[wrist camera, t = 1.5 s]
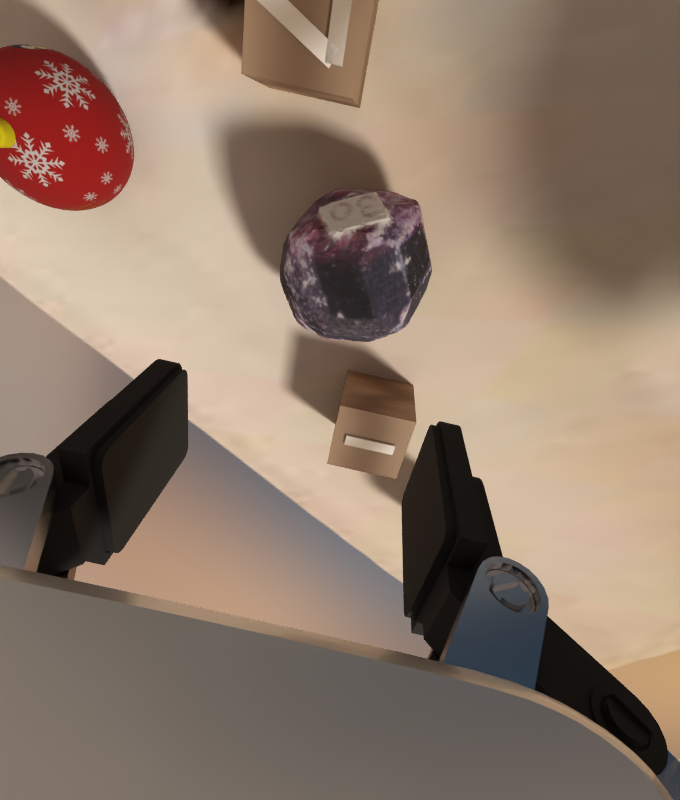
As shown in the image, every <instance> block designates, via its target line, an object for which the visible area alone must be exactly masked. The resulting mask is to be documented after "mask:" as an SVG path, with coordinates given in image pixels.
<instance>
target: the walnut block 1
mask: <svg viewBox="0 0 680 800" xmlns="http://www.w3.org/2000/svg"><path fill="white" fill-rule="evenodd" d="M415 424H416V413H415V401H414V388H413V385H410V384H406V383H401V382H397V381H392V380H388V379H383V378H379V377H374V376H370V375H365V374H361V373H356V372H352V371H348V372H347V376H346V381H345V385H344V390H343V394H342V398H341V403H340V407H339V412H338V416H337V421H336V425H335V430H334V434H333V439H332V444H331V448H330V453H329V458H328V462H327V464H331V465H335V466H340V467H344V468H349V469H353V470H358V471H362V472H367V473H371V474H376V475H380V476H385V477H389V478H394V479H396V478H397V475H398V473H399V470H400V467H401V464H402V461H403V458H404V456H405V453H406V450H407V447H408V444H409V441H410V439H411V436H412V433H413V430H414V427H415Z"/></svg>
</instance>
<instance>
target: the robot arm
mask: <svg viewBox="0 0 680 800" xmlns="http://www.w3.org/2000/svg"><path fill="white" fill-rule="evenodd" d="M187 450H188V381H187V371H186V370H182V367H181V365H180V364H179V363H175V362H170V361H166V360H161V359H157V360H156V361H155V362H153V363H152V364H151V365H150V366H149V367H148V368H147V369H146V370H144V371H143V372H142V373H141V374H140V375H139V376H138V377H136V378H135V379H134V380H133V381H132V382H131V383H130V384H129V385H127V386H126V387H125V388H124V389H123V390H122V391H121V392H120V393H118V394H117V395H116V396H115V397H114V398H113V399H111V400H110V401H109V402H107V403H106V404H105V405H104V406H103V407H102V408H100V409H99V410H98V411H97V412H96V413H95V414H94V415H93V416H91V417H90V418H89V419H88V420H87V421H86V422H85V423H83V424H82V425H81V426H80V427H79V428H78V429H77V430H76V431H75V432H73V433H72V434H71V435H70V436H69V437H68V438H66V439H65V440H64V441H63V442H62V443H61V444H60V445H59V446H57V447H56V448H55V449H54V450H53V451H52V452H51V453H49V454H48V455H47V456H46V457H44V456H43V455H39V454H34V453H17V454H9V455H5V456H2V457H0V800H680V757H679V758H678V759H676V758H675V757H674V756H673V755H672V754H671V753H670V752H669V751H668V750H667V745H666V741H665V738H664V736H663V733H662V731H661V729H660V727H659V725H658V723H657V722H656V720H655V719H654V717H653V716H652V714H651V713H650V712H649V710H648V709H647V708H646V707H645V706H644V705H643V704H642V703H641V701H639V699H638V698H637V697H636V696H635V695H634V694H632V693H631V692H630V691H629V690H628V689H627V688H626V687H625V686H624V685H623V684H622V683H620V682H619V681H618V680H617V679H616V678H615V677H614V676H613V675H612V674H611V673H609V672H608V671H607V670H606V669H605V668H604V667H603V666H602V665H601V664H600V663H598V662H597V661H596V660H595V659H594V658H593V657H592V656H591V655H590V654H589V653H587V652H586V651H585V650H584V649H583V648H582V647H581V646H580V645H579V644H578V643H576V642H575V641H574V640H573V639H572V638H571V637H570V636H569V635H568V634H567V633H565V632H564V631H563V630H562V629H561V628H560V627H559V626H558V625H557V624H556V623H554V622H553V621H552V620H551V619H550V618H549V617H548V616H547V614H548V609H549V605H548V596H547V594H546V591H545V588H544V587H543V585H542V584H541V582H540V581H539V579H538V578H537V577H536V576H535V575H534V574H533V573H532V572H531V571H530V570H529V569H527V568H526V567H524V566H523V565H521V564H520V563H518V562H516V561H514V560H511V559H509V558H504V557H503V556H502V552H501V548H500V545H499V541H498V537H497V533H496V530H495V526H494V522H493V518H492V515H491V511H490V507H489V503H488V500H487V496H486V492H485V488H484V485H483V482H482V480H481V479H480V478H477V477H472V473H471V469H470V465H469V460H468V456H467V452H466V448H465V444H464V439H463V435H462V431H461V428H460V426H458V425H454V424H449V423H445V422H438V423H437V425H436V426H434V425H430V427H429V429H428V431H427V434H426V436H425V439H424V442H423V444H422V447H421V450H420V452H419V455H418V458H417V460H416V463H415V466H414V468H413V471H412V474H411V476H410V479H409V482H408V484H407V487H406V489H405V492H404V495H403V500H402V545H403V592H404V615H405V616H406V617H410V618H411V629H412V633H415V634H419V635H423V636H424V640H425V641H426V642H427V643H428V644H429V646H430V647H431V651H430V653H429V656H428V658H427V659H426V658H422V657H417V656H413V655H409V654H405V653H401V652H397V651H392V650H388V649H383V648H379V647H374V646H370V645H365V644H361V643H357V642H352V641H347V640H343V639H339V638H334V637H330V636H326V635H321V634H317V633H312V632H308V631H304V630H299V629H295V628H290V627H285V626H281V625H276V624H272V623H267V622H263V621H259V620H254V619H250V618H245V617H240V616H236V615H231V614H227V613H222V612H217V611H213V610H208V609H204V608H199V607H195V606H190V605H186V604H181V603H177V602H172V601H168V600H163V599H158V598H153V597H149V596H145V595H139V594H135V593H130V592H126V591H121V590H117V589H112V588H107V587H103V586H98V585H93V584H89V583H84V582H79V581H75V580H74V578H75V573H76V567H77V566H79V565H82V564H83V563H84V562H85V561H87V562H92V563H96V564H101V565H105V564H106V562H107V561H108V559H109V558H110V557H111V555H112V554H113V552H115V553H119V552H120V551H121V550H122V549H123V548H124V546H125V545H126V543H127V542H128V540H129V539H130V538H131V536H132V534H133V533H134V532H135V530H136V529H137V527H138V526H139V524H140V523H141V521H142V520H143V518H144V517H145V515H146V514H147V512H148V511H149V510H150V508H151V507H152V505H153V504H154V502H155V501H156V499H157V498H158V496H159V495H160V493H161V492H162V490H163V489H164V487H165V486H166V484H167V483H168V482H169V480H170V479H171V477H172V476H173V474H174V473H175V471H176V469H177V468H178V467H179V465H180V464H181V462H182V461H183V460H184V458H185V456H186V453H187Z"/></svg>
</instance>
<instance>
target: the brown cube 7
mask: <svg viewBox="0 0 680 800" xmlns="http://www.w3.org/2000/svg"><path fill="white" fill-rule="evenodd" d="M378 2H379V0H245V9H244V30H243V51H242V71H241V74H243V75H245V76H247V77H249V78H251V79H253V80H255V81H257V82H259V83H261V84H263V85H265V86H267V87H269V88H273V89H278V90H282V91H287V92H291V93H296V94H300V95H304V96H309V97H313V98H318V99H322V100H327V101H331V102H336V103H340V104H345V105H349V106H354V107H358V108H360V104H361V98H362V93H363V87H364V81H365V76H366V70H367V64H368V59H369V53H370V47H371V42H372V36H373V30H374V24H375V19H376V13H377V7H378Z"/></svg>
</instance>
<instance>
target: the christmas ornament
mask: <svg viewBox="0 0 680 800" xmlns="http://www.w3.org/2000/svg"><path fill="white" fill-rule="evenodd" d="M133 161H134V146H133V139H132V134H131V130H130V127H129V124H128V121H127V119H126V117H125V114H124V112H123V110H122V109H121V107H120V105H119V103H118V102H117V100H116V99H115V97H114V96H113V94H112V93H111V92H110V91H109V89H108V88H107V87H106V86H105V85H104V84H103V83H102V82H101V81H100V80H99V79H98V78H97V77H96V76H95V75H94V74H93V73H92V72H91V71H89V70H88V69H87V68H86V67H84V66H83V65H81V64H80V63H78V62H77V61H75V60H73V59H72V58H70V57H68V56H66V55H64V54H62V53H59V52H57V51H54V50H51V49H48V48H44V47H40V46H34V45H13V46H7V47H3V48H1V49H0V177H1V178H2V179H3V180H4V181H5V182H6V183H7V184H9V185H10V186H11V187H13V188H14V189H15V190H17V191H18V192H20V193H21V194H23V195H24V196H26V197H28V198H30V199H32V200H34V201H36V202H38V203H41V204H43V205H46V206H49V207H53V208H57V209H62V210H73V211H79V210H88V209H92V208H96V207H99V206H102V205H104V204H106V203H107V202H109V201H111V200H112V199H113V198H115V197H116V196H117V195H118V194H119V193H120V192H121V191H122V189H123V188H124V186H125V185H126V183H127V181H128V179H129V177H130V174H131V171H132V167H133Z"/></svg>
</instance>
